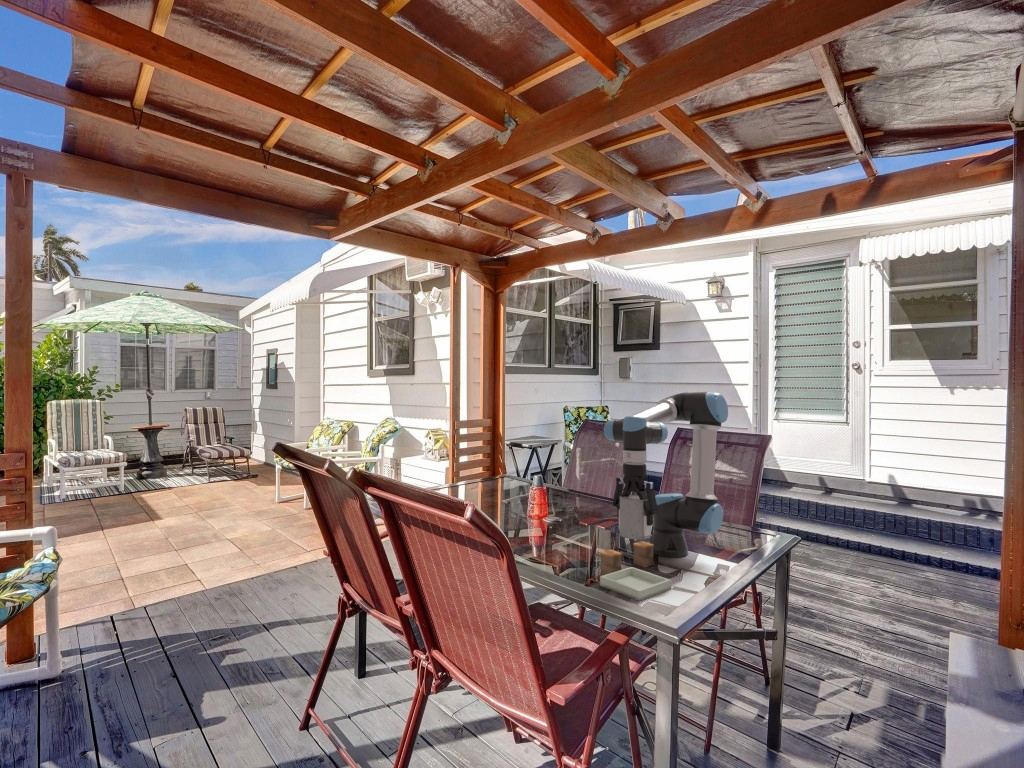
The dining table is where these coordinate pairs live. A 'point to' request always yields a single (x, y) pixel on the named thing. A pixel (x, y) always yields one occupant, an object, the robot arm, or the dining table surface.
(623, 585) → the tray
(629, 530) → the grey cylinder
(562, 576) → the dining table surface
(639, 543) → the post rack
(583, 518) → the dining table surface
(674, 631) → the dining table surface
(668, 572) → the dining table surface
